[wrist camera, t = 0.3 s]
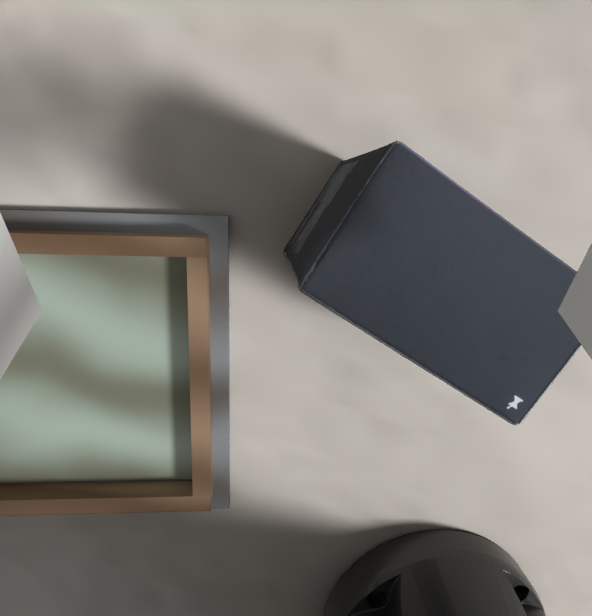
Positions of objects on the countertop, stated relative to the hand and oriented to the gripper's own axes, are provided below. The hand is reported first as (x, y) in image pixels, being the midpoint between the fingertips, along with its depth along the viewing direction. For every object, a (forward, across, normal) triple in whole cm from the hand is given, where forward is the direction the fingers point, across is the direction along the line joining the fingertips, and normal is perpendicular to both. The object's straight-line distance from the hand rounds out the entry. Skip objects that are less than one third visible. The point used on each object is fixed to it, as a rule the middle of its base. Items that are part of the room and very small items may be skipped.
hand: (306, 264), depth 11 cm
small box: (+14, -6, +9) cm, 17 cm away
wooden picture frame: (+10, +13, +14) cm, 21 cm away
